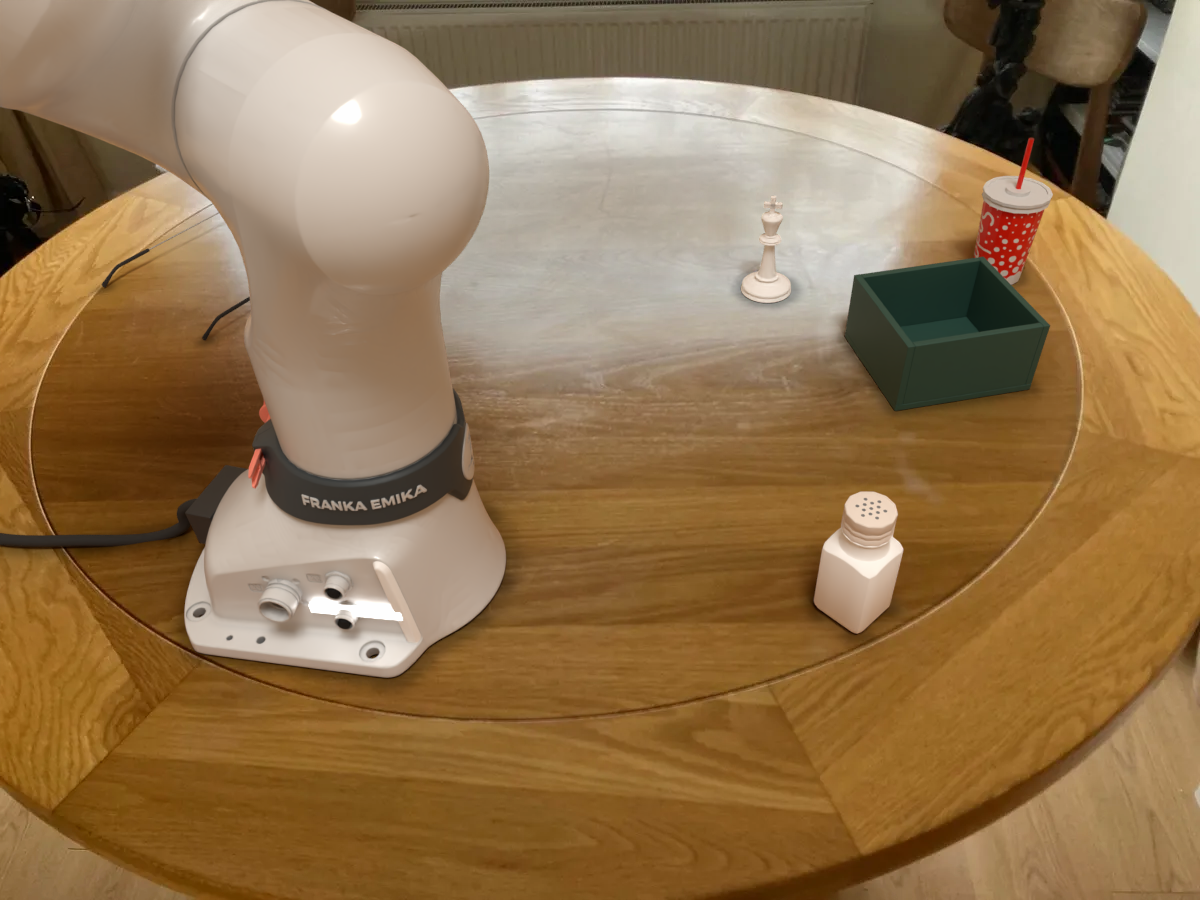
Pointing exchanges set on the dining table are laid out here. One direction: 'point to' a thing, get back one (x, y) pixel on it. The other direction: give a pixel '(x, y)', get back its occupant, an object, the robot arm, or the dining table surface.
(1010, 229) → the beverage cup
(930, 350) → the bin
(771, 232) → the chess piece
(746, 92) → the dining table surface
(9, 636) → the dining table surface
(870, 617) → the pepper shaker
